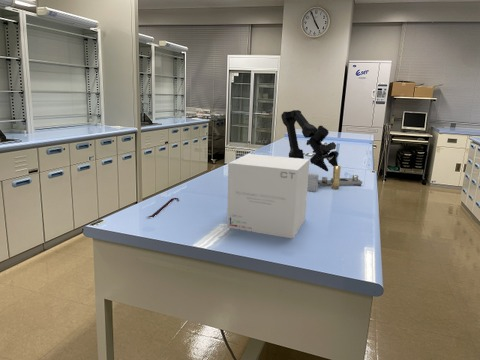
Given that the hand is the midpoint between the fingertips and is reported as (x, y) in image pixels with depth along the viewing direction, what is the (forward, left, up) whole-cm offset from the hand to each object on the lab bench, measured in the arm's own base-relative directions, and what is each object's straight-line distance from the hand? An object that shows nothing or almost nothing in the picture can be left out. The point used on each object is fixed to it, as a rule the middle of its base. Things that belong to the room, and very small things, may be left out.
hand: (332, 170), depth 195 cm
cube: (-44, -52, -10) cm, 68 cm away
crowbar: (-84, -33, -10) cm, 91 cm away
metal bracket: (+7, +7, -10) cm, 14 cm away
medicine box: (-14, -5, -10) cm, 17 cm away
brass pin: (+1, -2, -10) cm, 10 cm away
